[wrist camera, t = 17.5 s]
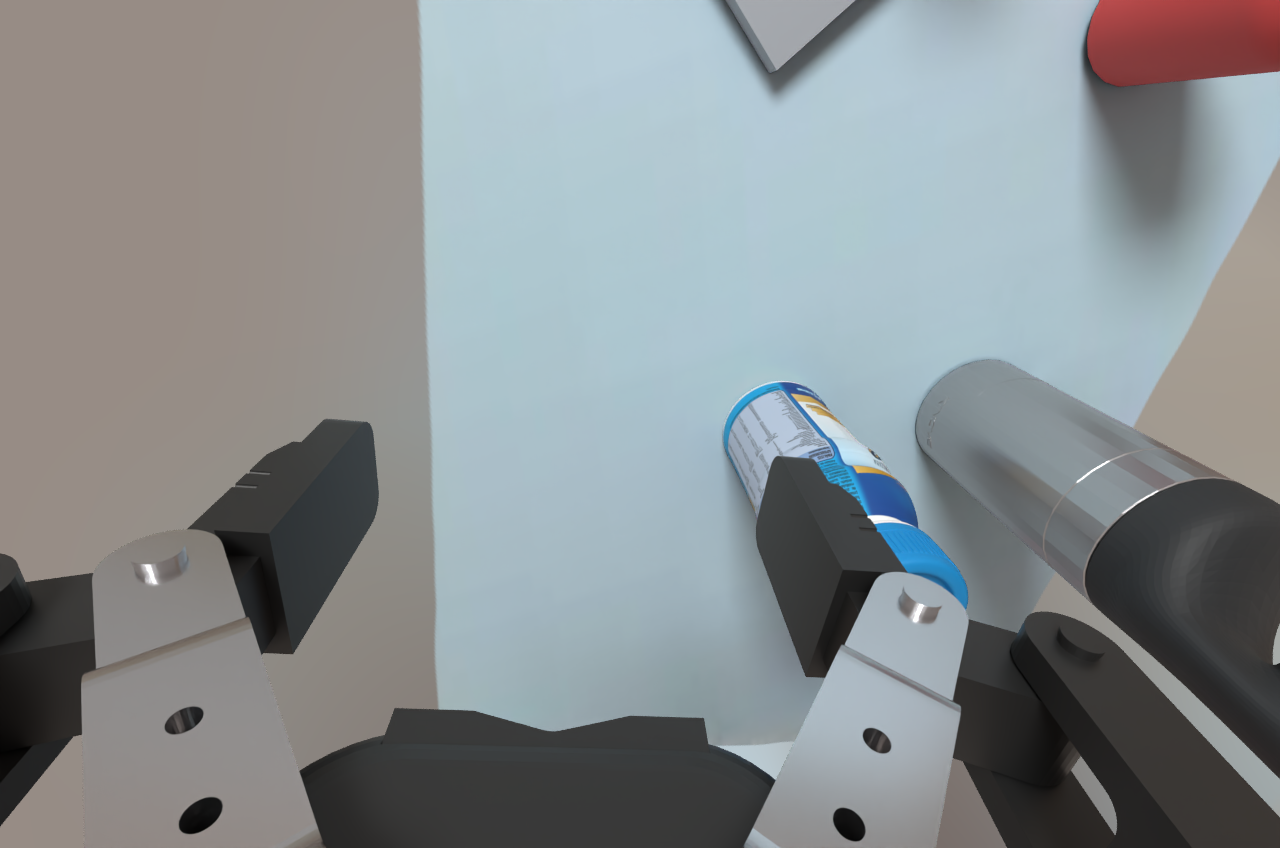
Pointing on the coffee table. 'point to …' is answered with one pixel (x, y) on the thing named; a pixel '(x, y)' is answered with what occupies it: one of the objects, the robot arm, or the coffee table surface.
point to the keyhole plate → (783, 25)
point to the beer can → (1183, 39)
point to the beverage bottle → (831, 470)
